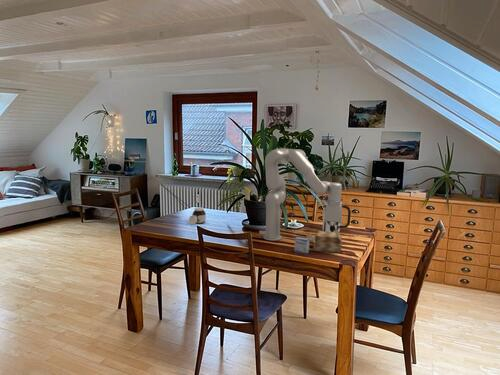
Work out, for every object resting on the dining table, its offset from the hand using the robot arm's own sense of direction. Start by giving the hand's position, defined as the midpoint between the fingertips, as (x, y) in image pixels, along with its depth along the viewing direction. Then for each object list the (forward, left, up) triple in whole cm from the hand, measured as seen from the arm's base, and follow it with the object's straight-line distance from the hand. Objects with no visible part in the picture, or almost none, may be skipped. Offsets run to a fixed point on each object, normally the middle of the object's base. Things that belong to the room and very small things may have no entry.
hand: (332, 231), depth 220 cm
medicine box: (-17, -13, -11) cm, 24 cm away
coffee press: (+2, +33, -11) cm, 35 cm away
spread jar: (-99, +30, -11) cm, 104 cm away
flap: (+6, 0, -5) cm, 8 cm away
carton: (-5, 0, -10) cm, 12 cm away
